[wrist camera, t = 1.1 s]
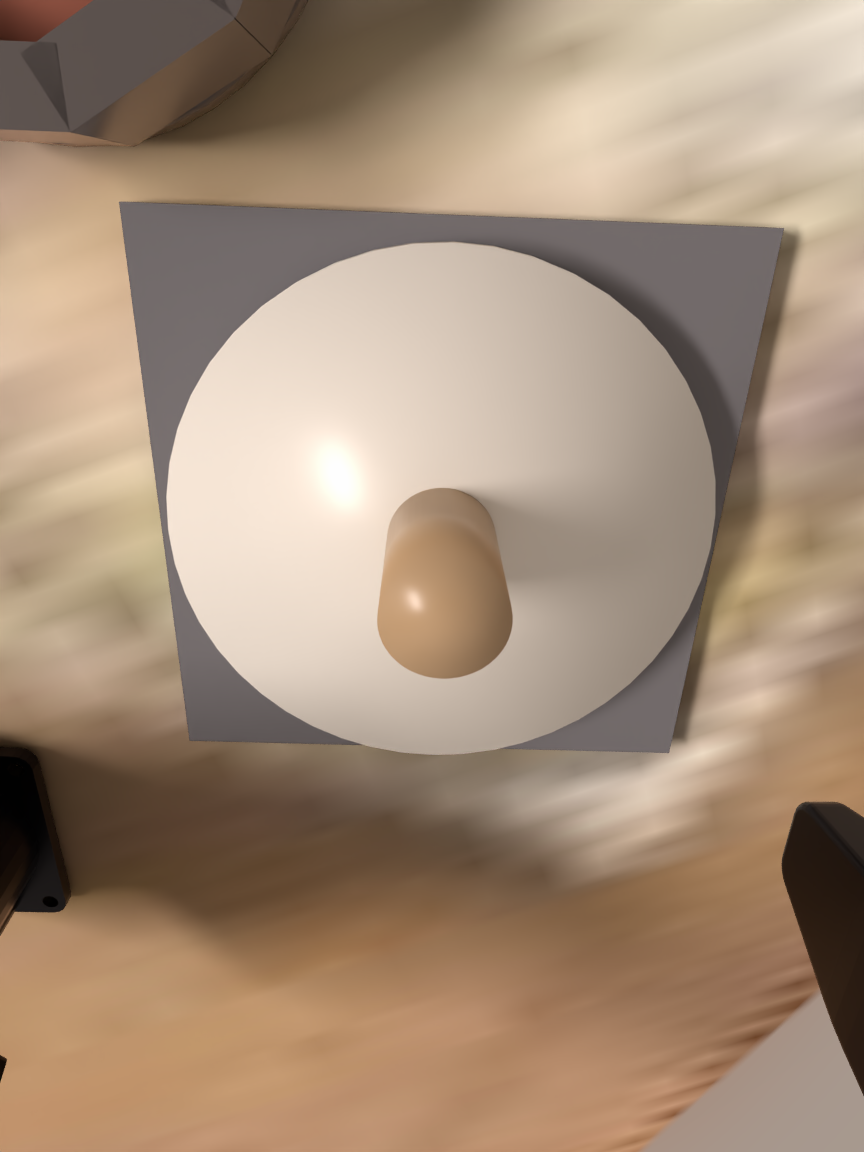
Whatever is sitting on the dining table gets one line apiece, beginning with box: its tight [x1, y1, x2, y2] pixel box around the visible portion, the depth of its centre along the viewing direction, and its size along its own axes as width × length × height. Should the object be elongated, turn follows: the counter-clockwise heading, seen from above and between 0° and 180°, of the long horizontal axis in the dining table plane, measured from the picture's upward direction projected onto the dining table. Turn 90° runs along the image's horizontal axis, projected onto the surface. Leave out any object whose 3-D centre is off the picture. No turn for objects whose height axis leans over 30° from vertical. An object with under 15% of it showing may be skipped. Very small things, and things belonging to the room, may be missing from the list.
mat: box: [119, 202, 784, 753], centre depth 19 cm, size 14×14×1 cm
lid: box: [166, 241, 716, 755], centre depth 17 cm, size 13×13×5 cm
